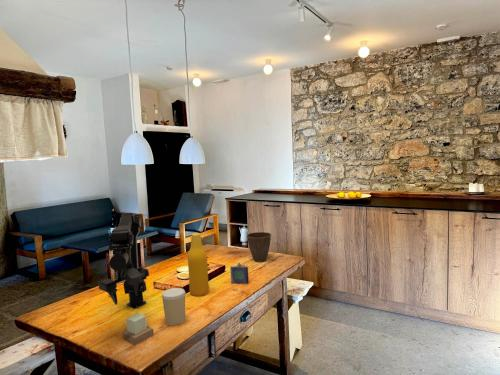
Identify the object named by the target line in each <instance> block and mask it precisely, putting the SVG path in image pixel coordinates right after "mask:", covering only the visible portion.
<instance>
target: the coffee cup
mask: <svg viewBox="0 0 500 375" xmlns="http://www.w3.org/2000/svg"><path fill="white" fill-rule="evenodd" d="M161 298H162V306H163V312H164V313H163V314H164V320H165V323H166V324H167V325H169V326H177V325H180V324H182V323H184V322H185V320H186V291H185V289H184V288H181V287H173V288H172V287H171V288H169V289H166V290H164V291H163V292H162V294H161Z"/></svg>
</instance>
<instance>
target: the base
mask: <svg viewBox="0 0 500 375" xmlns="http://www.w3.org/2000/svg"><path fill="white" fill-rule="evenodd" d="M121 336H122V339H123V340H126V341H127V342H128V343H131V344H132V345H134V346H136V345H138V344H140V343H142V342H143V341H145V340H147V339H149V338H151V337H153V336H155V332H154V328H153V327H151V326H149V325H147V329H145V330H144V331H142V332H140V333H138V334H136V335H135V334H132V333H130V332H128V331H127V329H125V330H122V331H121Z"/></svg>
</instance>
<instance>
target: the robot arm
mask: <svg viewBox="0 0 500 375" xmlns="http://www.w3.org/2000/svg"><path fill="white" fill-rule="evenodd" d="M141 228H142V220H141V217H139V216H137V215H135V213H134V212H124V213H121V215H120V218H119V224H118V226H117V227H114V228H113V229H112V231H111V232H110V234H109V240H108V242H109V243H108V251H109V252H112V251H113V252H112V254H113V255H112V256H111V258H110V259H109V262H108V263H109V268H111V269H112V270H113V271H116V273H115V274H114V277H115V278H116V279H110V278H106V279H104V280H100V282H98V290H101V291H103V292H105V293H107V294H108V296H109V297H110V299H111V300H112V302H113V303H114V305H118V297H117V295H118V294H117V292H118V289H117V287H118V286H117V285H119V284H121V283H123V289H124V290H123V291H124V295H127V294H128V299H129V300H128V303H126V306H128V307H130V308H132V309H137V308H139V307H140V306H143V305H145V304H147V301H146V300H145V301H144V295H143V294H144V293H145V292H146V291H147V284H146V283H147V282H146V281H145V280H147V277H149V276H150V271H149V269H147V268H145V267H143V266H140V267H139V255H138V254H139V253H138V252H139V251H138V236H139V234H140V232H141Z"/></svg>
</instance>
